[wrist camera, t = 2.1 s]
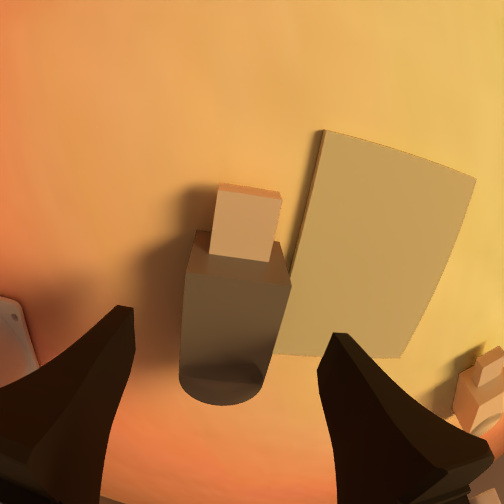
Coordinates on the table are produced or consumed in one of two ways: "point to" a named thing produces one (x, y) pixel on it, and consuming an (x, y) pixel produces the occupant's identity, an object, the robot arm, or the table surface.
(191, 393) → the tan-capped grey bottle
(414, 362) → the table surface
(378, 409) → the robot arm
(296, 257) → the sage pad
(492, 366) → the ivory plug
